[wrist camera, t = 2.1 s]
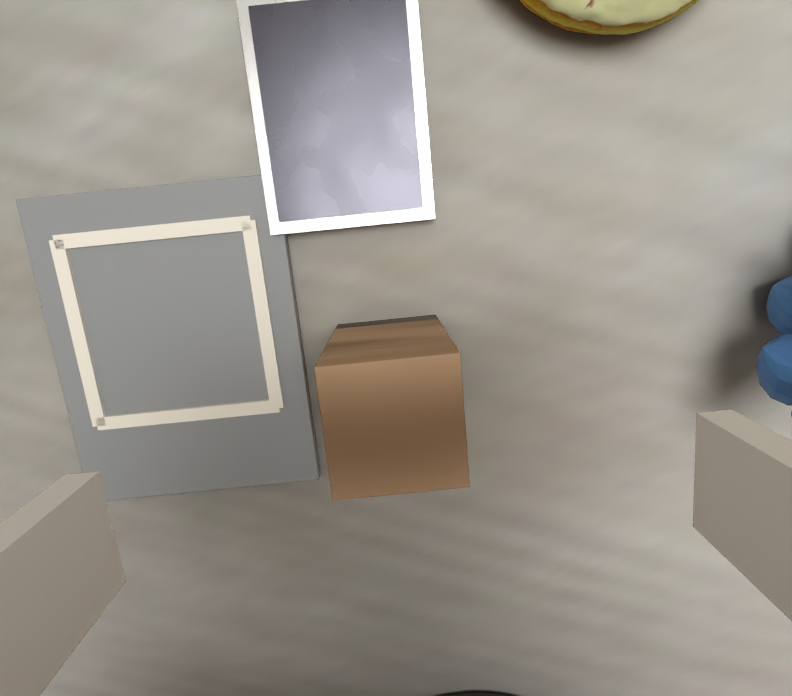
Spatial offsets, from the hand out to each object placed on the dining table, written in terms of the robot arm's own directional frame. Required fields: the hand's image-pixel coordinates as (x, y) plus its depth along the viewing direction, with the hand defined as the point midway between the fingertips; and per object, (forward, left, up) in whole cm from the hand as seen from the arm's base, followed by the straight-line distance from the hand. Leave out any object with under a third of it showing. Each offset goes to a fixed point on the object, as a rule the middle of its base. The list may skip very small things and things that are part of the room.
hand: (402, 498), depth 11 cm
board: (+2, +10, -13) cm, 16 cm away
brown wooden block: (0, 0, -13) cm, 13 cm away
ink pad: (+11, +1, -13) cm, 17 cm away
